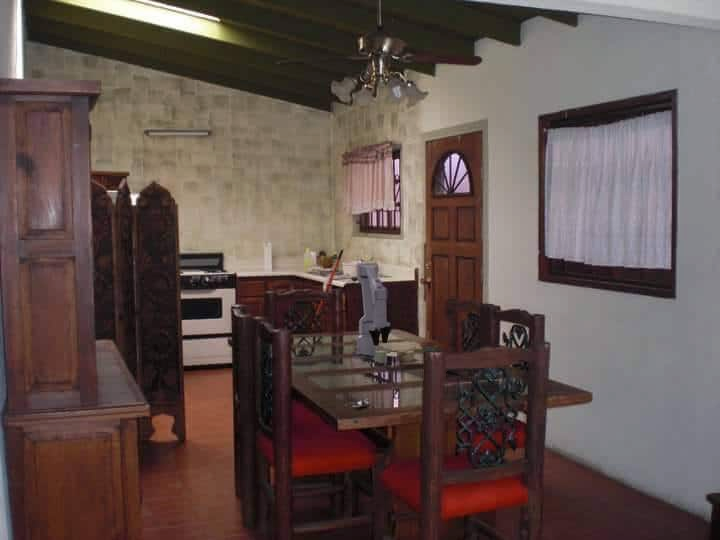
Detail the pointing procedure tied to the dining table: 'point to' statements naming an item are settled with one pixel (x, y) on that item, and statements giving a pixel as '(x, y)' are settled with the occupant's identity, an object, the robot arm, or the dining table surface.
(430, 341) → the cupcake
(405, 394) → the dining table surface
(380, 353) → the sage brick
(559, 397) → the dining table surface
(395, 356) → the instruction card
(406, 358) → the beech base brick
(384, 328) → the robot arm
